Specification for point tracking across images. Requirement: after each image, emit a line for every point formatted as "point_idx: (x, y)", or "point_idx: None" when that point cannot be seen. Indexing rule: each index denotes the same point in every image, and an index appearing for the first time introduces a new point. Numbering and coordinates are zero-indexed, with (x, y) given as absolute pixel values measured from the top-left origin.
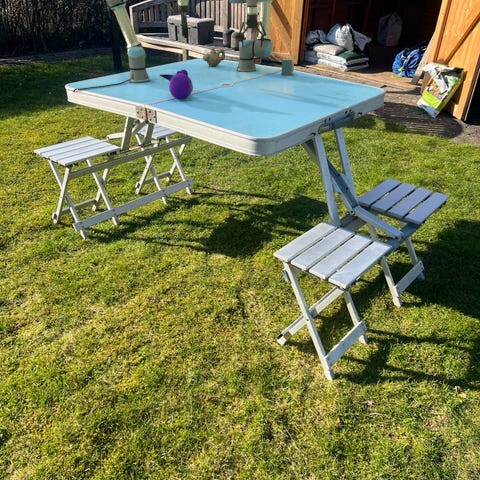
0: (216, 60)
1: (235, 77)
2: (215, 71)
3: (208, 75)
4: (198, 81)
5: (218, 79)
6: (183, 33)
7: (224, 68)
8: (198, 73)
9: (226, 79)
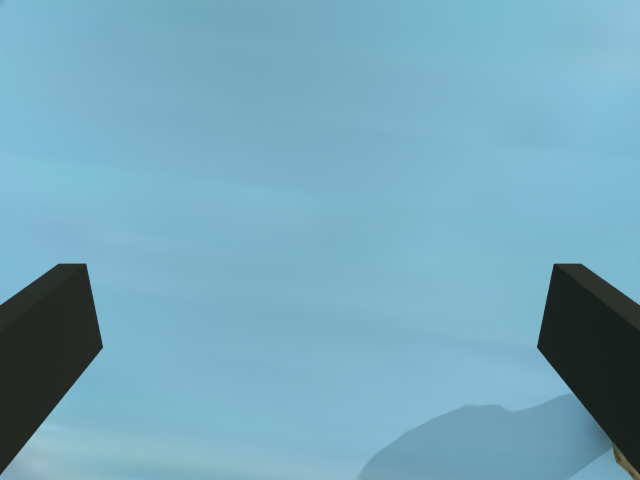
0: (624, 457)
1: (154, 459)
2: (424, 383)
3: (278, 315)
4: (45, 210)
5: (103, 355)
6: (585, 332)
7: (517, 454)
8: (391, 256)
9: (94, 400)
